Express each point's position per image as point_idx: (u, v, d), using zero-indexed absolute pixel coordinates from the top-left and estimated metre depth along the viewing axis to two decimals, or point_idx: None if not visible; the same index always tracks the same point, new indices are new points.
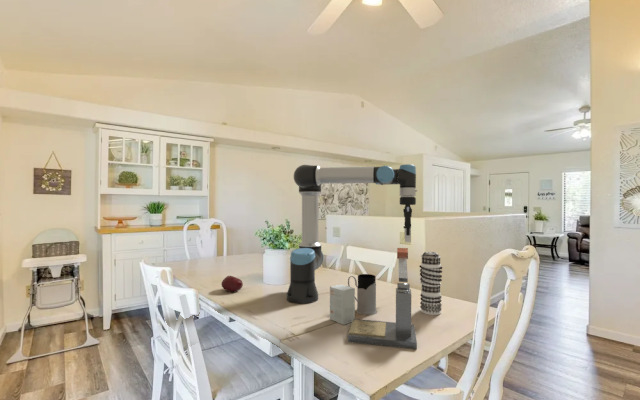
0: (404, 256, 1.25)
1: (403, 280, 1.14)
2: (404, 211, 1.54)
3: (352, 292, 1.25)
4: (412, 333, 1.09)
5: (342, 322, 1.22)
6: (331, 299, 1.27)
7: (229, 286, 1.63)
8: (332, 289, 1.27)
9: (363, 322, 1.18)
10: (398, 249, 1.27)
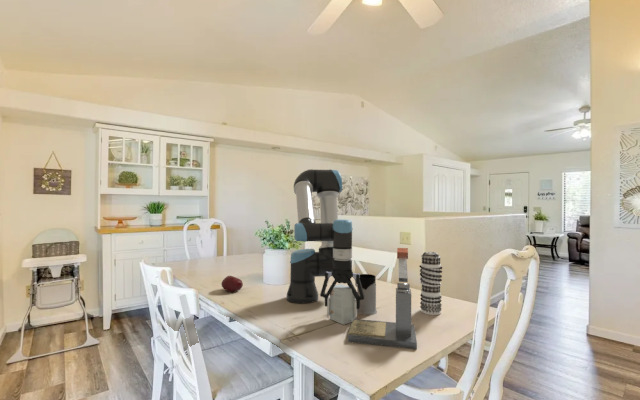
0: (404, 256, 1.25)
1: (403, 280, 1.14)
2: None
3: None
4: (412, 333, 1.09)
5: (342, 322, 1.22)
6: (331, 299, 1.27)
7: (229, 286, 1.63)
8: (332, 289, 1.27)
9: (363, 322, 1.18)
10: (398, 249, 1.27)
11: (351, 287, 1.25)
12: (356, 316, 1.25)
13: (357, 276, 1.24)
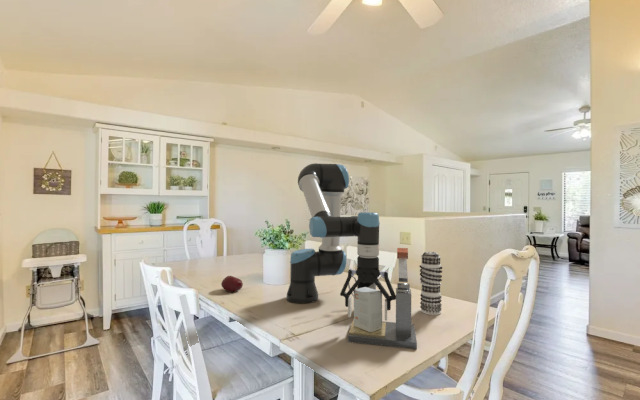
0: (404, 256, 1.25)
1: (403, 280, 1.14)
2: None
3: (379, 296, 1.12)
4: (412, 333, 1.09)
5: (369, 329, 1.09)
6: (356, 304, 1.14)
7: (229, 286, 1.63)
8: (357, 292, 1.13)
9: None
10: (398, 249, 1.27)
11: (380, 287, 1.12)
12: (386, 318, 1.11)
13: (385, 274, 1.11)
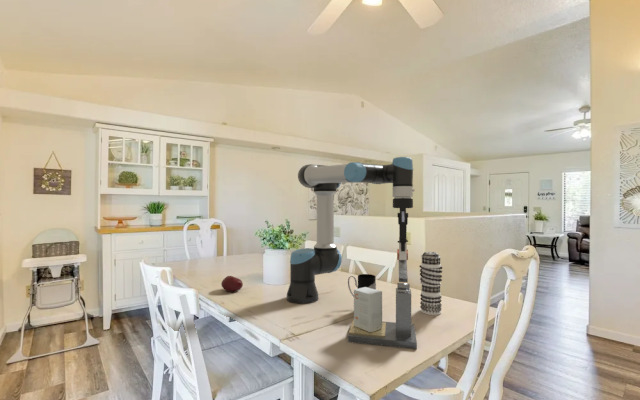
0: None
1: (403, 281, 1.14)
2: (398, 218, 1.22)
3: (379, 296, 1.12)
4: (412, 333, 1.09)
5: (369, 329, 1.09)
6: (356, 304, 1.14)
7: (229, 286, 1.63)
8: (357, 292, 1.13)
9: None
10: (398, 250, 1.28)
11: None
12: None
13: None
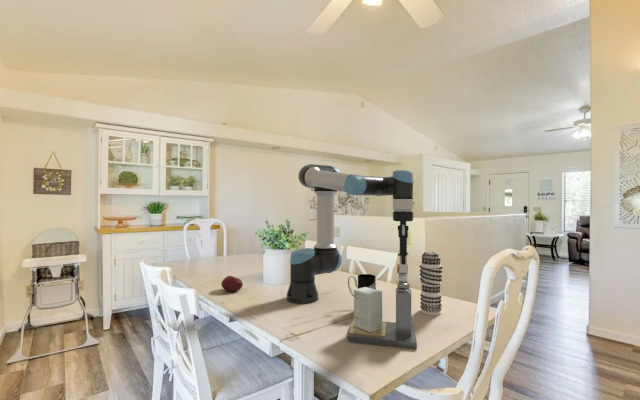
0: None
1: None
2: (399, 231, 1.22)
3: (379, 296, 1.12)
4: (412, 333, 1.09)
5: (369, 329, 1.09)
6: (356, 304, 1.14)
7: (229, 286, 1.63)
8: (357, 292, 1.13)
9: None
10: (398, 264, 1.30)
11: None
12: None
13: None
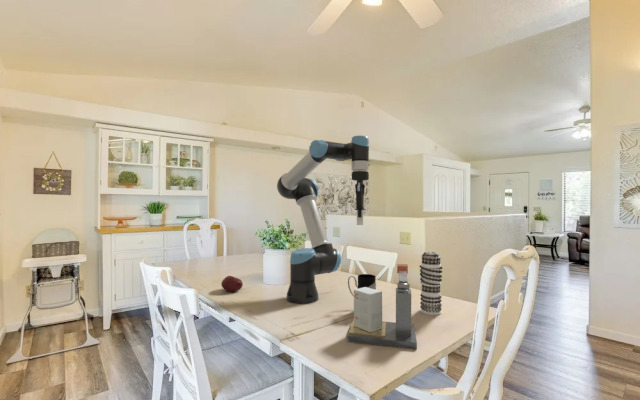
0: (404, 270, 1.27)
1: None
2: None
3: (379, 296, 1.12)
4: (412, 333, 1.09)
5: (369, 329, 1.09)
6: (356, 304, 1.14)
7: (229, 286, 1.63)
8: (357, 292, 1.13)
9: None
10: (398, 264, 1.30)
11: None
12: None
13: None
